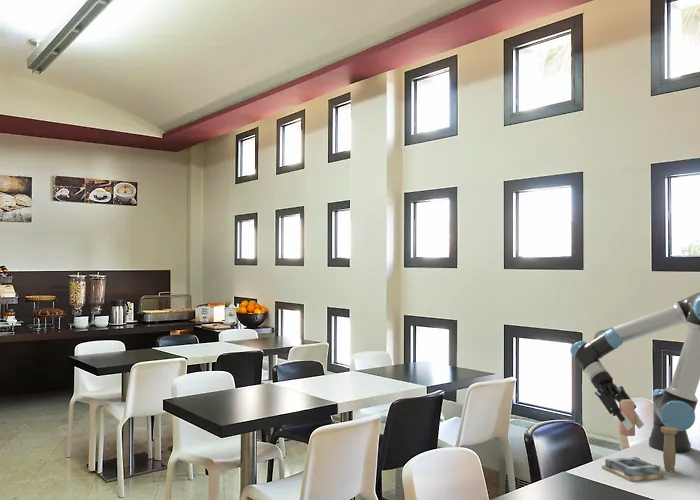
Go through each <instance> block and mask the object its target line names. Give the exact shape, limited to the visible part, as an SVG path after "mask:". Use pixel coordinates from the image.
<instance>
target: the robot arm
mask: <svg viewBox="0 0 700 500" xmlns="http://www.w3.org/2000/svg"><path fill="white" fill-rule="evenodd" d="M682 324H684V325H686V326H688V330H687V332H686V336H685V340H684V341H683V342H684V343H683V345H682V349H681V351H680V354H679V358H678V360H677V361H678V362H677V365H676V367H675V370H674V373H673V377H672V380H671V383H670V385H669V386H668V387H665V388H664V389H658V388H656V389H654V390H653V393H652V394H653V395H652V400H653V402H652V403H653V404H652V405H653V406H652V407H653V408H652V414H653V417H652V418H653V419H652V420H653V421H652V422H653V423H652V424H653V426H652V428H651V433H650V436H649V438H648V446H649V447H651V448H653V449H656V450H660V451H663V448H664V433H662V432H661V427H663V426H672V427H676V428H677V429H678V432H677V434H675V435H674V439H675V453H687V452H690V451H691V450H692V446H691V442H690V440H689V436H688V432H687V430H689V429H690V428H691V427H692V426H693V425H694V424H695V422H696V412H695V411H696V408H697V405H698V401H699V400H698V398H697V396H696V392H697V389H698V385H699V382H700V291H699V292H696V293H694V294H692V295H689V296H688V297H686V298H684V299H681V300H679V301H676V302H675V303H674V304H673V305H672V306H669V307H666V308H664V309H661V310H658V311H655V312H652V313H649V314H647V315H644V316H641V317H640V316H639V317H638V318H635V319H632V320H629V321H626V322H624V323H621V324H618V325H615V326H612V327H609V328H607V329H601V330H598V331H597V332H596V333H595V334H594V337H593V339H592V340H590V341H589V342H586V340H580V341H577V342H575V343H574V344H572V346H571V347H570V350H569V351H570V354H571V355H572V357H573V358H574V360H575V362H576V363H577V364H578V366H579V367H580V368H581V370H582V371H583V373H584V374H585V375H586V377H587V378H588V380H590V382H591V384H592V385H593V387H594V388H595V389H596V391H595V392H594V394H595V396H597V397H598V399H599V400H600V402H601V403H602V404H603V406H604V407H605V408H606V410H607V411H608V414H610V415H612V416H613V417H617V419H618V420H619V422H620V421H621V422H622V423H623V425H624V426H625V428H626V429H627V430H630V429H631V428H632V427H633V425H632V424H631V422H630V421H629V419H628V418H627V417H626V415H625V414H624V413H623V411H621V412H620V409H619V404H618V403H619V401H621V400H625V399H631V397H630V396H629V395H628V393H627V392H626V391H625V388H624V387H623V386H622V385H621V386H617V385H616V384H614V381H613V380H614V379H613V377H612V376H611V374H610V373H609V371H607V369H606V367H605V366H604V365H603V363H602V361H600V360H601V359H602V358H603V357H605V356H606V355H608V354H610V353H611V352H613V351H615V350H616V349H618V348H619V347H621V346H622V345H623V344H626V343H627V342H630V341H633V340H636V339H637V340H638V339H639V338H642V337H646V336H649V335H650V334H651V335H652V334H654V333H657V332H660V331H663V330H664V331H665V330H667V329H669V328H671V327H675V326H679V325H682ZM617 402H618V403H617ZM634 408H635V409H636V408H637V405H636V404H635V403H634ZM644 425H645V423H644V422H643V421H642V419H641V418H640V416H639V415H638V413H637V411H635V427H636V428H637V429H642V427H643V426H644Z"/></svg>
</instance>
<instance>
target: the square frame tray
mask: <svg viewBox="0 0 700 500" xmlns="http://www.w3.org/2000/svg"><path fill="white" fill-rule="evenodd" d="M604 464H605V465H601V469H603V470H604V471H607V472H610V473H611V474H613V475H616V476H617V477H620V478H622V479H624V480H627V481H629V482H638V481H644V480H645V481H646V480H647V481H648V480H657V479H664V478H665V474H663V473H661V465H660V466H659V465H657V464H652V463H649V462H647V461H645V460H642V459H641V458H639V457H637V456H629V457H618V458H616V457H615V458H606V459H605V463H604Z"/></svg>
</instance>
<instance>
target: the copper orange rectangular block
mask: <svg viewBox="0 0 700 500" xmlns="http://www.w3.org/2000/svg"><path fill="white" fill-rule="evenodd" d="M634 404H635V401H633V399H632V398H630V399H625V400H621V401H619V402H618V407H619V409H620V412H621V411H623V413H624V414H625V415H626V417H627V418H628V419H629V421H630V422H631V424H632V425H633V427H632V428H631V429H630V430H627V429H626V428H625V426H624V425H623V423H622V422H621V421H620V420H619V434H620V435H621V436H625V437H634V436H636V425H635V412H636V411H635V409H636V408H634Z"/></svg>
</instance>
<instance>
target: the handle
mask: <svg viewBox="0 0 700 500" xmlns="http://www.w3.org/2000/svg"><path fill="white" fill-rule="evenodd" d="M661 432H662V433H664V448H663V450H662V451H663V452H662V453H663V454H662V455H663V456H662V459H663V467H664V470H665V472H669V473H671V472H673V473H674V472H675V470H676V468H675V467H676V457H677V456H676V453H677V452H675V439H674V435H675V434H677V432H678V429H677V428H676V427H672V426H663V427H661Z"/></svg>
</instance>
